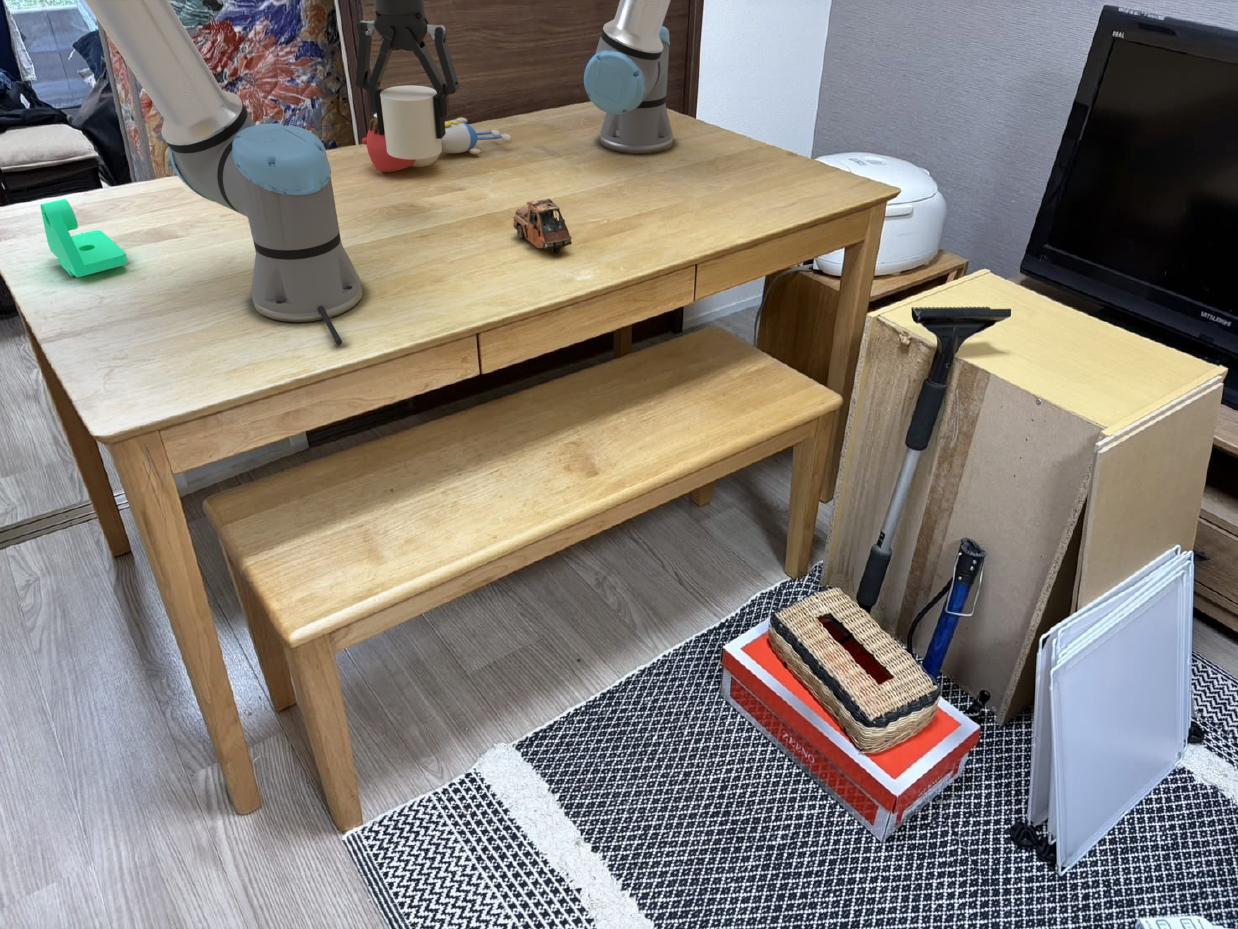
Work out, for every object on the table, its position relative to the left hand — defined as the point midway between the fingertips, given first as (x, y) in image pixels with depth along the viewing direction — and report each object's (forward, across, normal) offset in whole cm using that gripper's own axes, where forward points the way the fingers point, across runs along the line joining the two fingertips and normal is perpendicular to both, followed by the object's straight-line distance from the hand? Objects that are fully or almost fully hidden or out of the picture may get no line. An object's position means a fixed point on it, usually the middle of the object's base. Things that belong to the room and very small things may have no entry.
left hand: (412, 134), depth 154 cm
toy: (+13, +4, -28) cm, 31 cm away
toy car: (+13, -24, +9) cm, 29 cm away
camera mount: (+14, +43, +29) cm, 54 cm away
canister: (+3, 0, 0) cm, 3 cm away
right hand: (-15, +5, -38) cm, 41 cm away
